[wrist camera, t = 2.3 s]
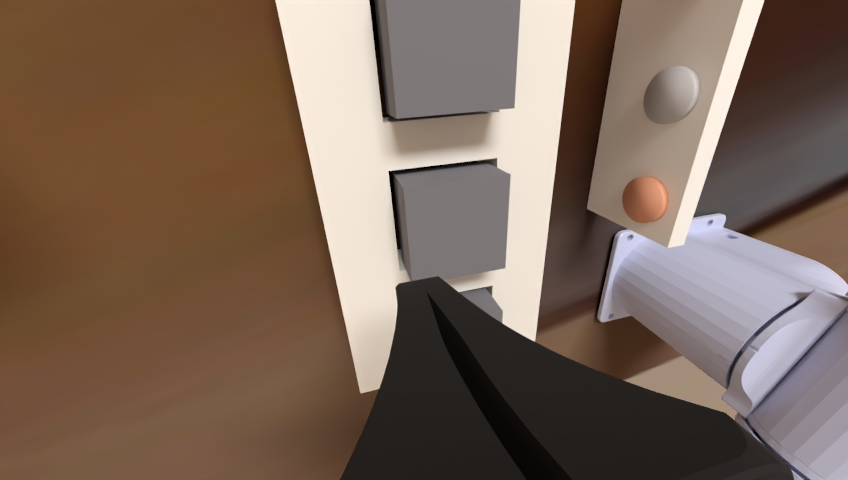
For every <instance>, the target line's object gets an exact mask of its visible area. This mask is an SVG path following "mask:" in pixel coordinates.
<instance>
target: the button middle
mask: <svg viewBox="0 0 848 480" xmlns="http://www.w3.org/2000/svg"><path fill="white" fill-rule="evenodd" d="M510 178H511V174H509V173H507V172H505V171H503V170H501V169H499V168H497V167H495V166H493V165H491V164H489V163H487V162H485V161H482V162H473V163H465V164H457V165H449V166H440V167H432V168H424V169H416V170H407V171H399V172H393V180H394V190H395V199H396V209H397V218H398V227H399V237H400V246H401V256H402V260H403V262H404V265H405V268H406V270H407V273H408V276H409V278H410V281H415V280H420V279H425V278H430V277H436V276H439V277H440V278H441V279H443V280H446V279H451V278H457V277H462V276H467V275H472V274H478V273H483V272H488V271H494V270H499V269H504V268H505V266H506V248H507V231H508V213H509V196H510Z"/></svg>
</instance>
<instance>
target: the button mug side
mask: <svg viewBox="0 0 848 480" xmlns="http://www.w3.org/2000/svg"><path fill="white" fill-rule="evenodd" d="M374 1H375V11H376V20H377V29H378V39H379V48H380V58H381V67H382V77H383V86H384V95H385V105H386V113H387V114H389V115H390V116H392V117H394V118H396V119H400V118H411V117H422V116H434V115H445V114H456V113H467V112H478V111H489V110H500V109H511V108H515V90H516V73H517V55H518V38H519V20H520V3H521V0H374Z"/></svg>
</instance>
